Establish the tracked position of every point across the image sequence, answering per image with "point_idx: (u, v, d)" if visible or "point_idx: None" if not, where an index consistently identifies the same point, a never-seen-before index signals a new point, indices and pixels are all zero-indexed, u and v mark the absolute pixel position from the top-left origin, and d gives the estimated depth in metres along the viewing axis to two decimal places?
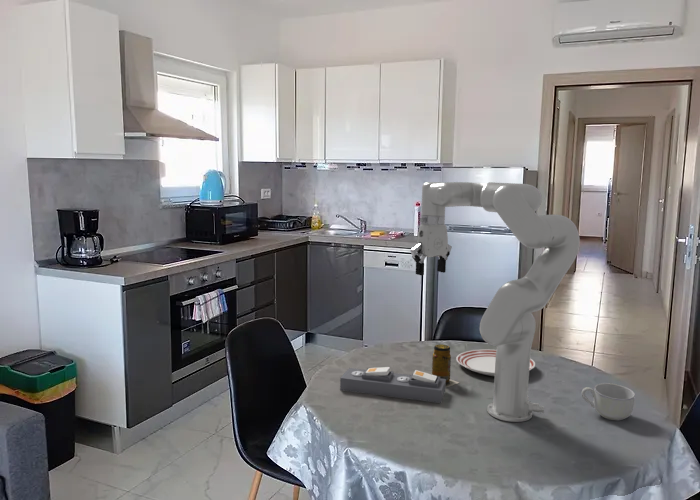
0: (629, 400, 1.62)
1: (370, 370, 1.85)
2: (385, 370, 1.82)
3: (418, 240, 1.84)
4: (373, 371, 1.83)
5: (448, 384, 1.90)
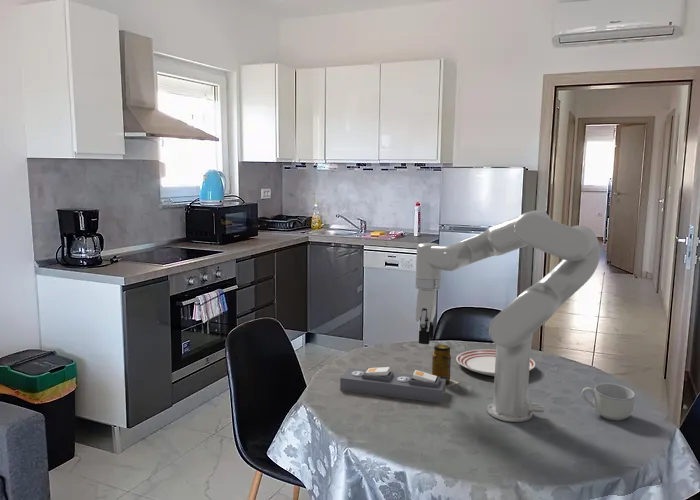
0: (629, 400, 1.62)
1: (370, 370, 1.85)
2: (385, 370, 1.82)
3: None
4: (373, 371, 1.83)
5: (448, 384, 1.90)
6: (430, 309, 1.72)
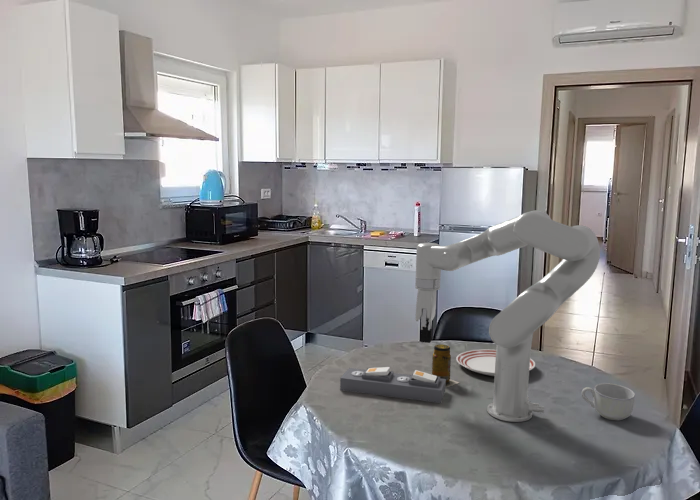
0: (629, 400, 1.62)
1: (370, 370, 1.85)
2: (385, 370, 1.82)
3: None
4: (373, 371, 1.83)
5: (448, 384, 1.90)
6: (430, 309, 1.72)
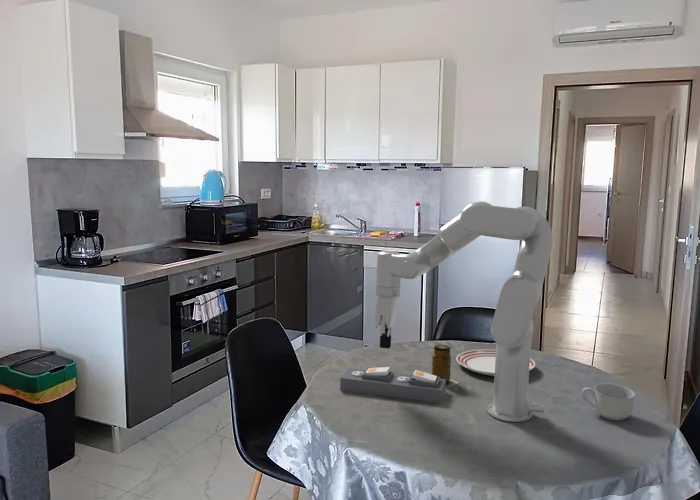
0: (629, 400, 1.62)
1: (370, 370, 1.85)
2: (385, 370, 1.82)
3: None
4: (373, 371, 1.83)
5: (448, 384, 1.90)
6: (388, 316, 1.76)
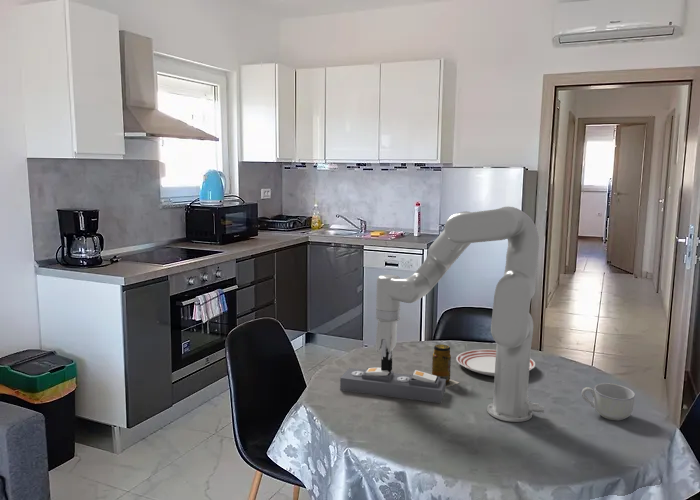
0: (629, 400, 1.62)
1: (370, 370, 1.85)
2: (385, 370, 1.82)
3: None
4: (373, 371, 1.83)
5: (448, 384, 1.90)
6: (389, 340, 1.77)
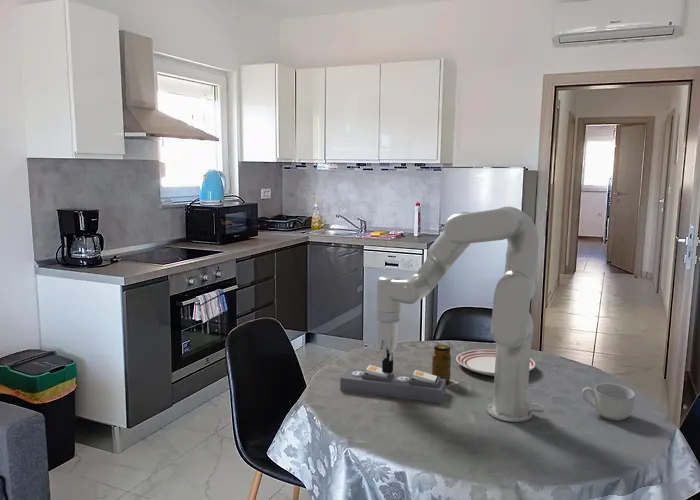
0: (629, 400, 1.61)
1: (371, 368, 1.84)
2: (386, 373, 1.82)
3: None
4: (374, 370, 1.83)
5: (448, 384, 1.90)
6: (390, 341, 1.77)
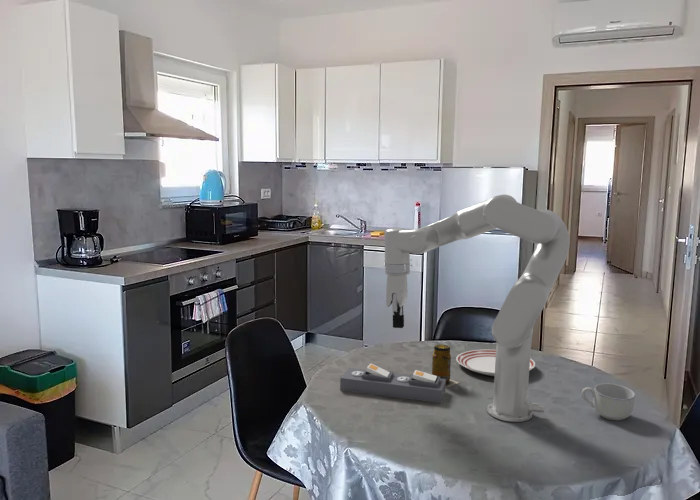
0: (629, 400, 1.62)
1: (371, 367, 1.84)
2: (385, 375, 1.82)
3: None
4: (374, 370, 1.83)
5: (448, 384, 1.90)
6: (400, 293, 1.73)
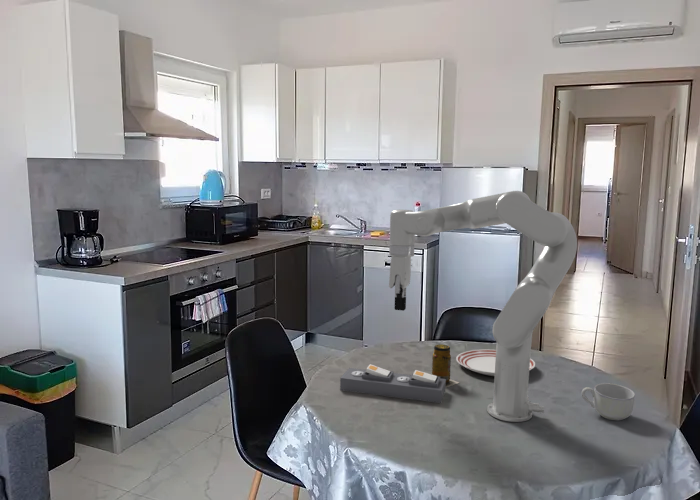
0: (629, 400, 1.62)
1: (371, 367, 1.84)
2: (386, 374, 1.82)
3: None
4: (374, 370, 1.83)
5: (448, 384, 1.90)
6: (403, 275, 1.71)
